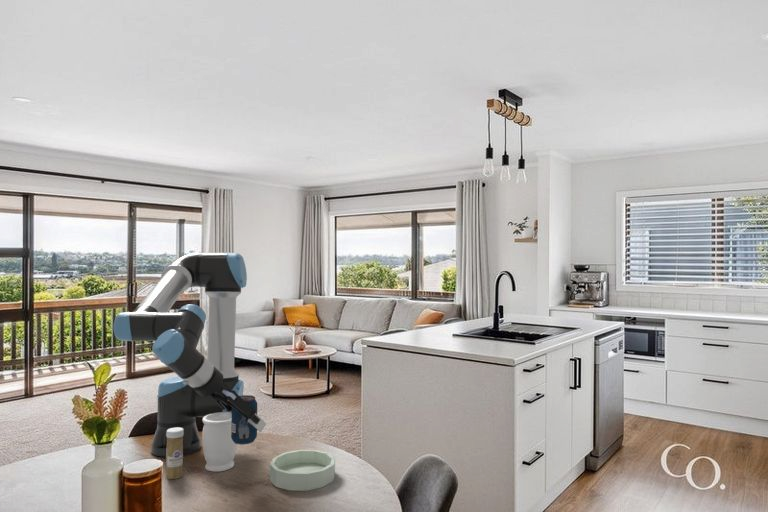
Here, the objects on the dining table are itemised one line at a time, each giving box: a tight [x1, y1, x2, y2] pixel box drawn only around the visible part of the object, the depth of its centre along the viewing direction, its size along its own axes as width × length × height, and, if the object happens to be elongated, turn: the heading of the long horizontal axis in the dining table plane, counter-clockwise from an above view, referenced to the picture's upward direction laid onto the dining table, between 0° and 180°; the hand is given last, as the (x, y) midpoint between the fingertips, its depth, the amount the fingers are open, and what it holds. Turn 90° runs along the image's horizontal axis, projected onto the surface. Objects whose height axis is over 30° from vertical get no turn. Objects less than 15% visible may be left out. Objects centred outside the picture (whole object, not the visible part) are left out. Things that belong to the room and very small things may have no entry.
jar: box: [201, 412, 238, 473], centre depth 156 cm, size 11×10×15 cm
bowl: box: [269, 449, 336, 492], centre depth 149 cm, size 18×18×4 cm
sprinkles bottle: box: [165, 427, 184, 480], centre depth 148 cm, size 5×5×14 cm
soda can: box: [231, 394, 258, 446], centre depth 144 cm, size 7×7×12 cm
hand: (255, 424), depth 147 cm, fingers closed on soda can, 7 cm apart
